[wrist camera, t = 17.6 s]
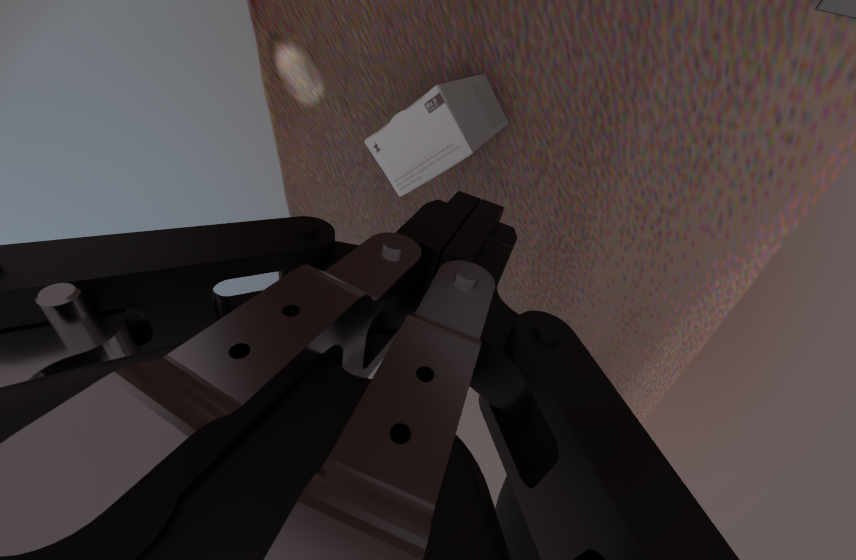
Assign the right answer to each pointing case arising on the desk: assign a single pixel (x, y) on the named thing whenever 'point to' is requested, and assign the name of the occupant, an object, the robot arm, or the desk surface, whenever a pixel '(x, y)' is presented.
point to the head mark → (839, 7)
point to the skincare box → (437, 132)
